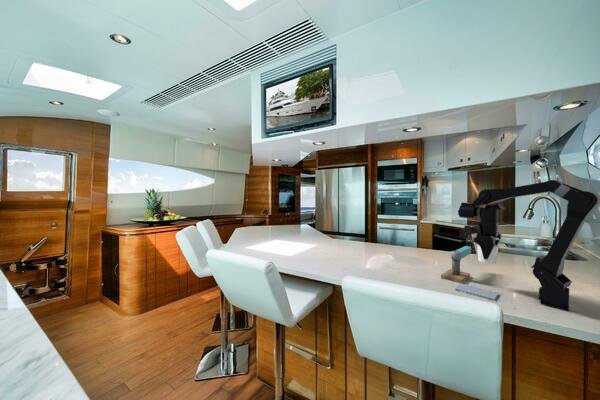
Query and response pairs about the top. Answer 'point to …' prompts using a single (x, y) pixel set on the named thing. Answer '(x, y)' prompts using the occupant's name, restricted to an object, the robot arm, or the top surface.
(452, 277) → the stand
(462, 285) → the slate mat
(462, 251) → the bar
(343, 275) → the top surface
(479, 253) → the white tapered cup
